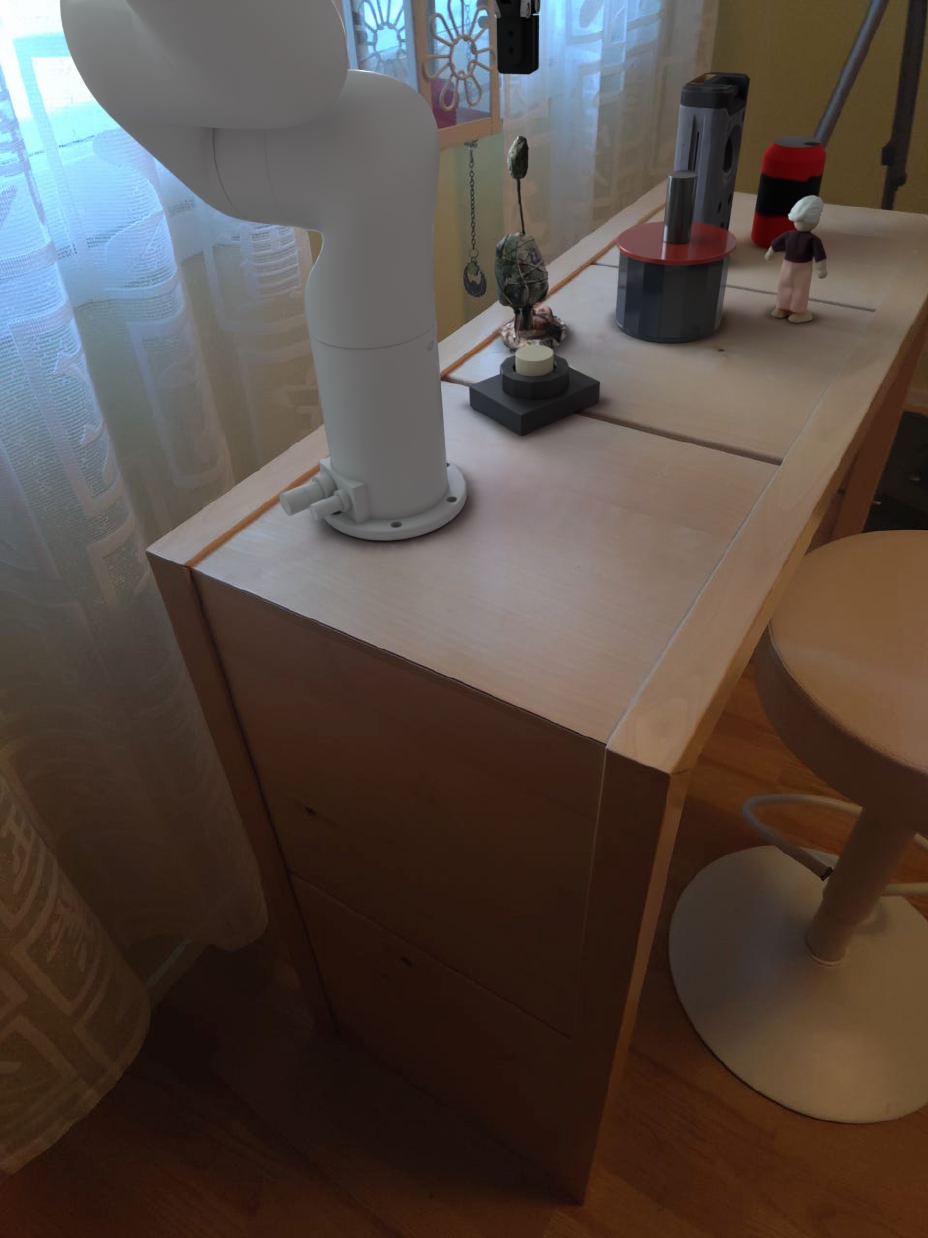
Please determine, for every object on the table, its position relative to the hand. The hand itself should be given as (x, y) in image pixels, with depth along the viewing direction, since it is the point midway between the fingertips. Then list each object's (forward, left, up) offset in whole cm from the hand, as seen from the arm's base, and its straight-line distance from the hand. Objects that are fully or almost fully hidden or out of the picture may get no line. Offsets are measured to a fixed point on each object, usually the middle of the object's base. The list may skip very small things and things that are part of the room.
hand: (518, 71), depth 76 cm
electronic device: (+38, +10, -27) cm, 48 cm away
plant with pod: (+5, +5, -27) cm, 28 cm away
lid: (+20, -2, -19) cm, 27 cm away
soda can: (+50, +6, -27) cm, 57 cm away
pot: (+20, -2, -27) cm, 34 cm away
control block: (-4, -7, -27) cm, 28 cm away
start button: (-4, -7, -24) cm, 25 cm away
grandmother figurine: (+31, -10, -27) cm, 42 cm away
